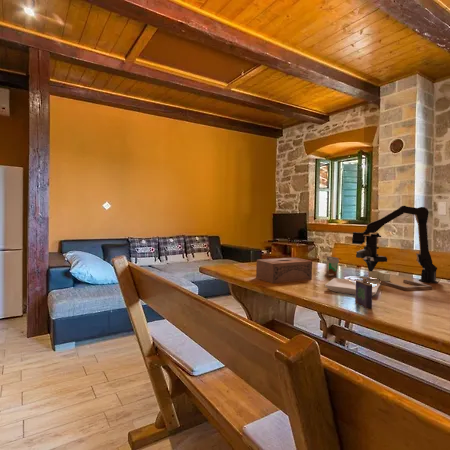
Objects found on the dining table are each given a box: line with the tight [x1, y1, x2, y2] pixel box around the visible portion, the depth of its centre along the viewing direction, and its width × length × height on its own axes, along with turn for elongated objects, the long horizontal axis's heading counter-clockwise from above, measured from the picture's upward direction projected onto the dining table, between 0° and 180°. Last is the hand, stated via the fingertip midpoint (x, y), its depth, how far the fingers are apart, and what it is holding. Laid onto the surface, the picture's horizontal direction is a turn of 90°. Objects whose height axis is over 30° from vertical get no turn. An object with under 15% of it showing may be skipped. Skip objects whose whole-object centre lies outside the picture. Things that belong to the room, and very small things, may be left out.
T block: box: [368, 270, 391, 282], centre depth 173 cm, size 10×8×4 cm
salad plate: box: [324, 277, 381, 296], centre depth 147 cm, size 21×21×3 cm
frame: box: [380, 279, 433, 292], centre depth 158 cm, size 16×16×2 cm
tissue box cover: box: [255, 257, 313, 284], centre depth 170 cm, size 26×14×10 cm, turn 118°
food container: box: [325, 256, 340, 278], centre depth 182 cm, size 12×6×10 cm, turn 168°
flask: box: [354, 277, 373, 310], centre depth 122 cm, size 9×3×11 cm, turn 8°
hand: (370, 272), depth 181 cm, fingers closed
